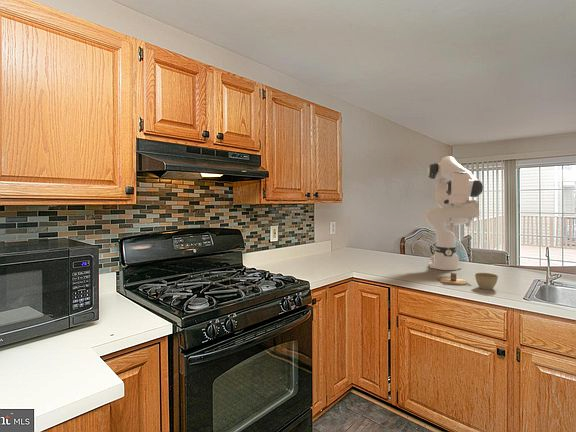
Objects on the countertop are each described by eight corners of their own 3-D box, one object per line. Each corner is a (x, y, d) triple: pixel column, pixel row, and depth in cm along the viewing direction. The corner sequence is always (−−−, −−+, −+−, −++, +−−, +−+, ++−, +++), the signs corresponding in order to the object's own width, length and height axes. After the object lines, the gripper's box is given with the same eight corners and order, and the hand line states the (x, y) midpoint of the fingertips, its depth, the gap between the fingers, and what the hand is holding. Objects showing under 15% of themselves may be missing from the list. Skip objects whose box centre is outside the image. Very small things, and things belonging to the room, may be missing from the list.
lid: (437, 278, 191) (437, 270, 191) (461, 279, 189) (462, 270, 189) (444, 284, 179) (444, 275, 178) (470, 285, 177) (471, 276, 176)
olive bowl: (476, 285, 178) (477, 271, 178) (499, 288, 172) (499, 274, 172) (472, 289, 171) (473, 275, 170) (495, 292, 164) (496, 278, 164)
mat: (436, 279, 192) (436, 278, 192) (462, 279, 190) (462, 279, 190) (443, 285, 178) (443, 285, 178) (472, 286, 176) (472, 285, 176)
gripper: (482, 200, 178) (481, 226, 178) (447, 202, 196) (446, 226, 195) (474, 199, 175) (474, 226, 175) (439, 201, 193) (439, 225, 192)
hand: (459, 226), depth 185 cm, fingers open, 8 cm apart
